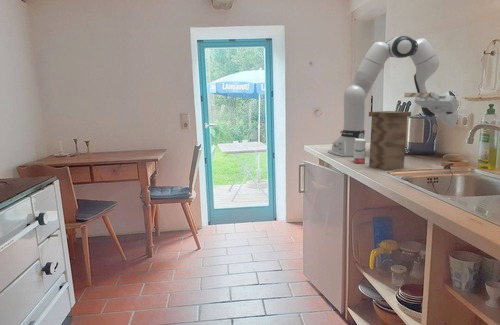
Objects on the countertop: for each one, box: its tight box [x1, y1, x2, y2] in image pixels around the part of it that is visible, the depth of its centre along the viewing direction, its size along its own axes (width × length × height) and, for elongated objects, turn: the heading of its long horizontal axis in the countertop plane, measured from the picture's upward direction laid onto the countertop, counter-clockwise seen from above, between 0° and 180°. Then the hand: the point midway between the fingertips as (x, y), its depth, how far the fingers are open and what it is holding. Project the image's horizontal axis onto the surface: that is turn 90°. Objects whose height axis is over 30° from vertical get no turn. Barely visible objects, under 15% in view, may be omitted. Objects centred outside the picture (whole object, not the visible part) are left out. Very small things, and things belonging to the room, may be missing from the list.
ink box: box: [353, 138, 367, 164], centre depth 178 cm, size 9×5×12 cm, turn 168°
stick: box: [403, 92, 430, 98], centre depth 171 cm, size 20×2×2 cm, turn 120°
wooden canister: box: [368, 110, 412, 171], centre depth 164 cm, size 12×14×26 cm
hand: (427, 93), depth 174 cm, fingers closed on stick, 2 cm apart
